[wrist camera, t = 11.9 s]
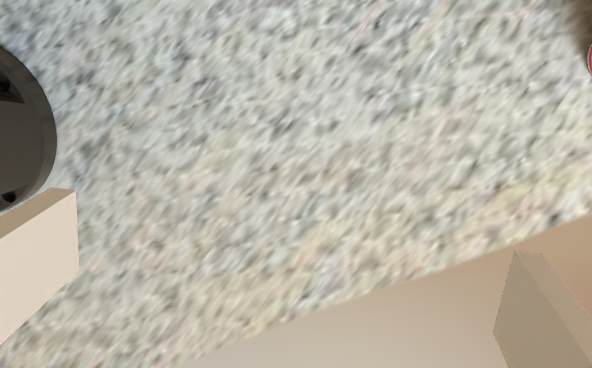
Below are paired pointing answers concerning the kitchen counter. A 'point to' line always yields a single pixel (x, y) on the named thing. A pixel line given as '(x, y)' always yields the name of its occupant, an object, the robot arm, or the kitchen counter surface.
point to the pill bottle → (590, 59)
